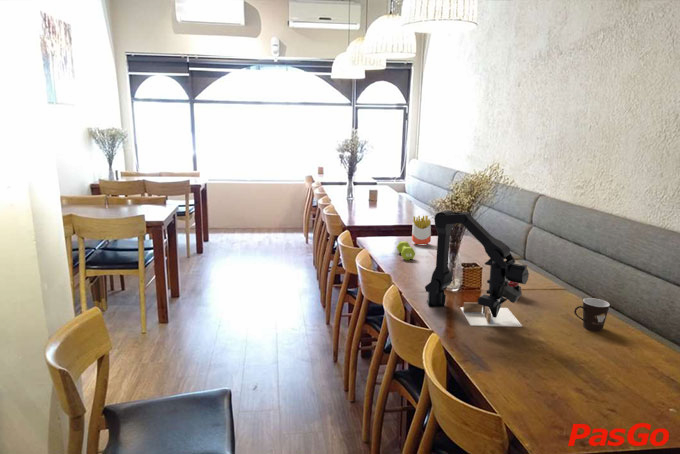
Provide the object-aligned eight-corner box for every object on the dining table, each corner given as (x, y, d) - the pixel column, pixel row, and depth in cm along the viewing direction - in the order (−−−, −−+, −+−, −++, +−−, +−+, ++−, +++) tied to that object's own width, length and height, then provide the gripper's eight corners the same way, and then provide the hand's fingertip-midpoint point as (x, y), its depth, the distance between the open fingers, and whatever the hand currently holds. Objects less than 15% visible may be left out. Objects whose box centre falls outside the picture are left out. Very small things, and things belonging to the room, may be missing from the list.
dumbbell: (396, 252, 270) (396, 240, 269) (409, 252, 271) (410, 240, 269) (401, 261, 254) (401, 248, 253) (415, 260, 255) (416, 248, 253)
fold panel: (484, 313, 182) (485, 304, 181) (487, 313, 182) (487, 304, 181) (487, 322, 174) (488, 313, 173) (490, 322, 173) (490, 313, 173)
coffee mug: (603, 324, 174) (607, 299, 172) (608, 334, 166) (612, 308, 164) (569, 320, 178) (572, 295, 176) (572, 329, 170) (575, 304, 168)
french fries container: (430, 245, 286) (431, 216, 282) (412, 245, 286) (414, 216, 282) (429, 243, 291) (430, 215, 287) (411, 243, 291) (412, 215, 287)
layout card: (470, 325, 173) (470, 324, 173) (460, 308, 189) (460, 306, 189) (522, 326, 172) (522, 325, 172) (507, 308, 189) (507, 307, 189)
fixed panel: (464, 314, 183) (464, 302, 182) (462, 312, 185) (463, 301, 184) (488, 314, 183) (488, 303, 182) (486, 312, 185) (487, 301, 184)
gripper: (508, 289, 160) (504, 331, 163) (529, 276, 173) (525, 315, 177) (478, 282, 167) (475, 322, 171) (500, 270, 181) (497, 307, 184)
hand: (494, 317), depth 175 cm, fingers closed
